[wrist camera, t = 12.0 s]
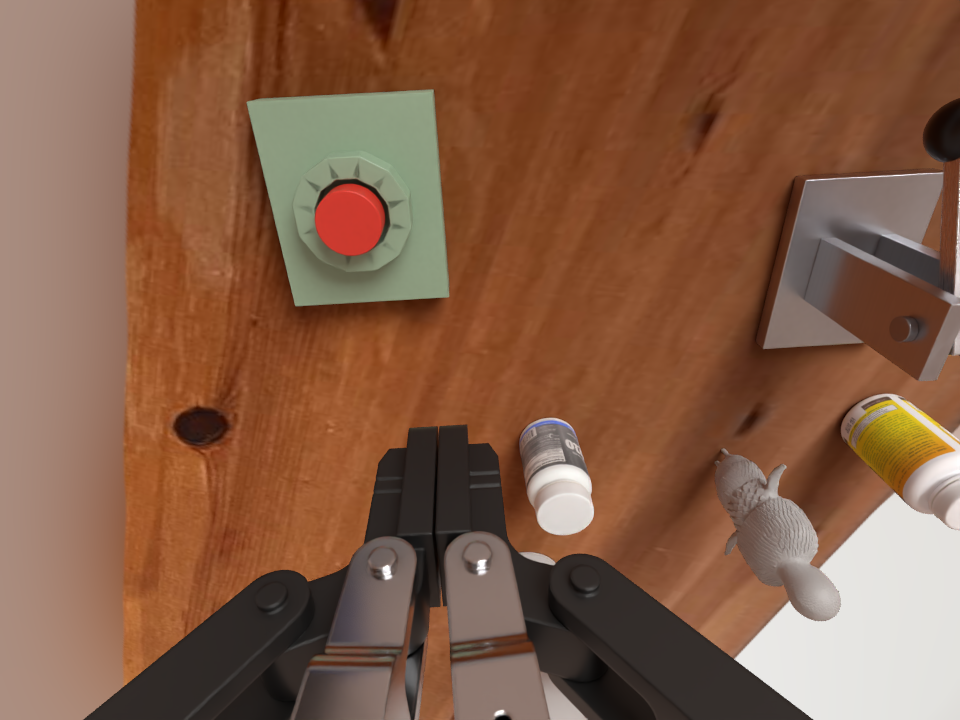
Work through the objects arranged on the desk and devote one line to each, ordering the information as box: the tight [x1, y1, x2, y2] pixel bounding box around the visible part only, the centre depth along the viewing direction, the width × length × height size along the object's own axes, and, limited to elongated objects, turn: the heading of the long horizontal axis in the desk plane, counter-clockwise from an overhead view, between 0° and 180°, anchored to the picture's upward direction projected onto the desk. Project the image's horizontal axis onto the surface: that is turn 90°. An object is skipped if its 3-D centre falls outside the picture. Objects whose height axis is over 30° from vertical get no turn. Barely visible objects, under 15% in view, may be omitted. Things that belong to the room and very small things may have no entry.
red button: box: [315, 184, 385, 256], centre depth 30 cm, size 4×4×2 cm
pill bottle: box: [519, 418, 594, 535], centre depth 40 cm, size 5×5×8 cm
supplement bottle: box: [841, 394, 960, 530], centre depth 40 cm, size 6×6×10 cm
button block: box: [247, 90, 449, 306], centre depth 32 cm, size 12×10×4 cm
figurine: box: [714, 448, 841, 621], centre depth 39 cm, size 9×4×15 cm, turn 168°
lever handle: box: [923, 98, 960, 355], centre depth 28 cm, size 13×3×3 cm, turn 3°
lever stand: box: [756, 168, 960, 381], centre depth 32 cm, size 12×9×12 cm
